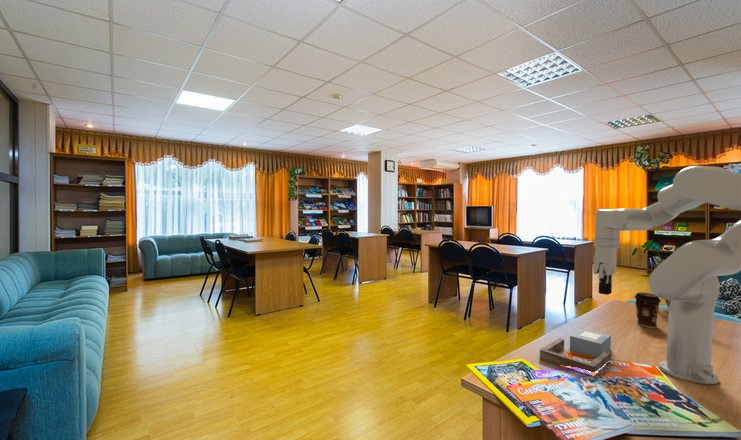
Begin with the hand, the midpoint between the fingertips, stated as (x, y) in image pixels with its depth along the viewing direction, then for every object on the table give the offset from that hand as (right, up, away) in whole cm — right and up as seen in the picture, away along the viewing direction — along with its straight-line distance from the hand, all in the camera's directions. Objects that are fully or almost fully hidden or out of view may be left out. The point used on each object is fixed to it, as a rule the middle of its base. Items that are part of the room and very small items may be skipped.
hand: (604, 293), depth 126 cm
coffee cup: (+29, -17, +17) cm, 38 cm away
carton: (-11, -18, -8) cm, 22 cm away
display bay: (-21, -17, -17) cm, 32 cm away
